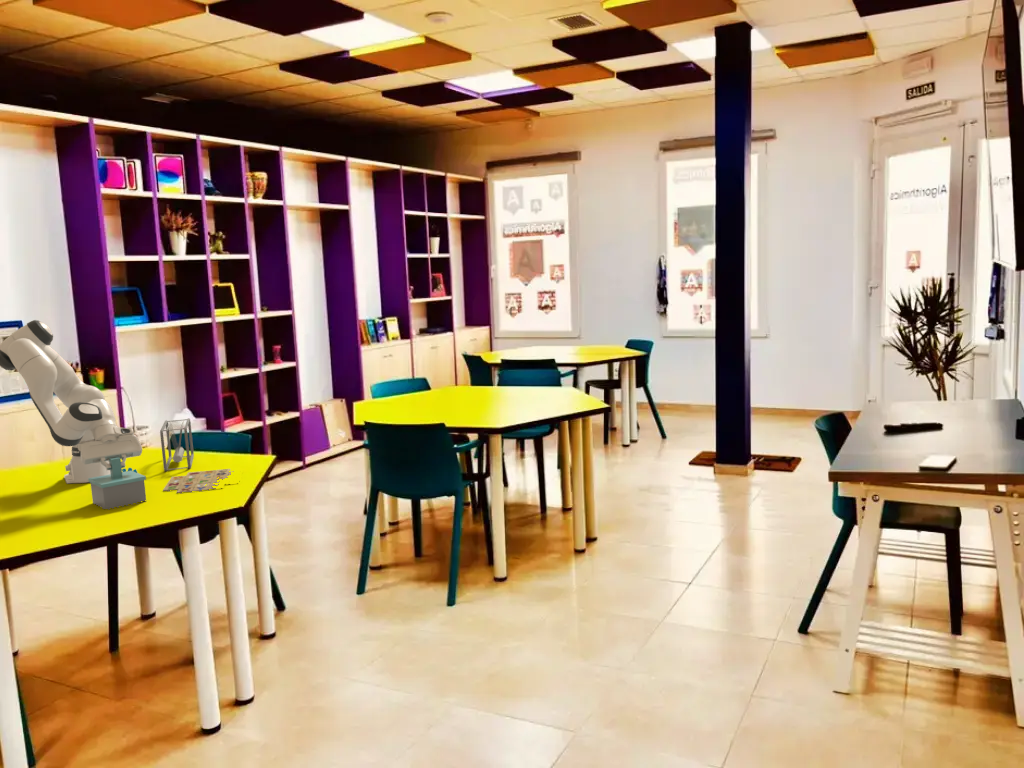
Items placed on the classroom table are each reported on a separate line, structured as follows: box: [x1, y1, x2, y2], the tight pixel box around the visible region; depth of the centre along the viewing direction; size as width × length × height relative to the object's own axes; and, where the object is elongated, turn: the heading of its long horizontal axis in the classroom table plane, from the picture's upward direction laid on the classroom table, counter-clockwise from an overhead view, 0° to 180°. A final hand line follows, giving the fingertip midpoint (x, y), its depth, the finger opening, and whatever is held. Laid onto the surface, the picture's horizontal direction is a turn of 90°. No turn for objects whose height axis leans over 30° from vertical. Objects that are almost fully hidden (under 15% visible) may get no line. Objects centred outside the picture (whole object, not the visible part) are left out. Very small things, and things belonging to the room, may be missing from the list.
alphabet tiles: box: [162, 468, 235, 494], centre depth 332 cm, size 28×33×1 cm
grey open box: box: [90, 480, 147, 510], centre depth 306 cm, size 14×14×8 cm
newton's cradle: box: [159, 418, 195, 472], centre depth 367 cm, size 30×10×18 cm, turn 18°
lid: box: [88, 457, 147, 488], centre depth 305 cm, size 15×15×9 cm
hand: (116, 467), depth 304 cm, fingers closed on lid, 3 cm apart
